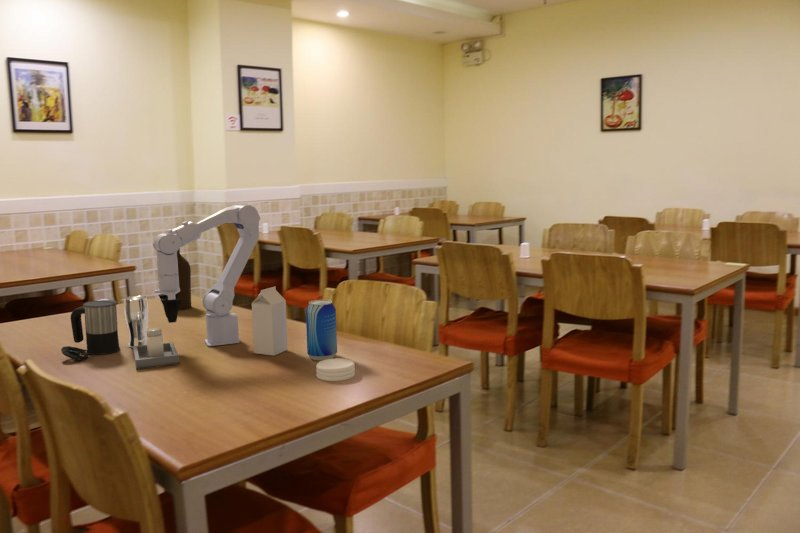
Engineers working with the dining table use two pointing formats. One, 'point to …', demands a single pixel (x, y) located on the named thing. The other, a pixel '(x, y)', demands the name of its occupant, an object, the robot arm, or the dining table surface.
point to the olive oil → (184, 282)
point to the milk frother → (94, 329)
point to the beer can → (321, 330)
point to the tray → (145, 362)
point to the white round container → (335, 369)
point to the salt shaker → (154, 343)
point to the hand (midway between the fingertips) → (171, 319)
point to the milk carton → (269, 323)
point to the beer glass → (136, 319)
